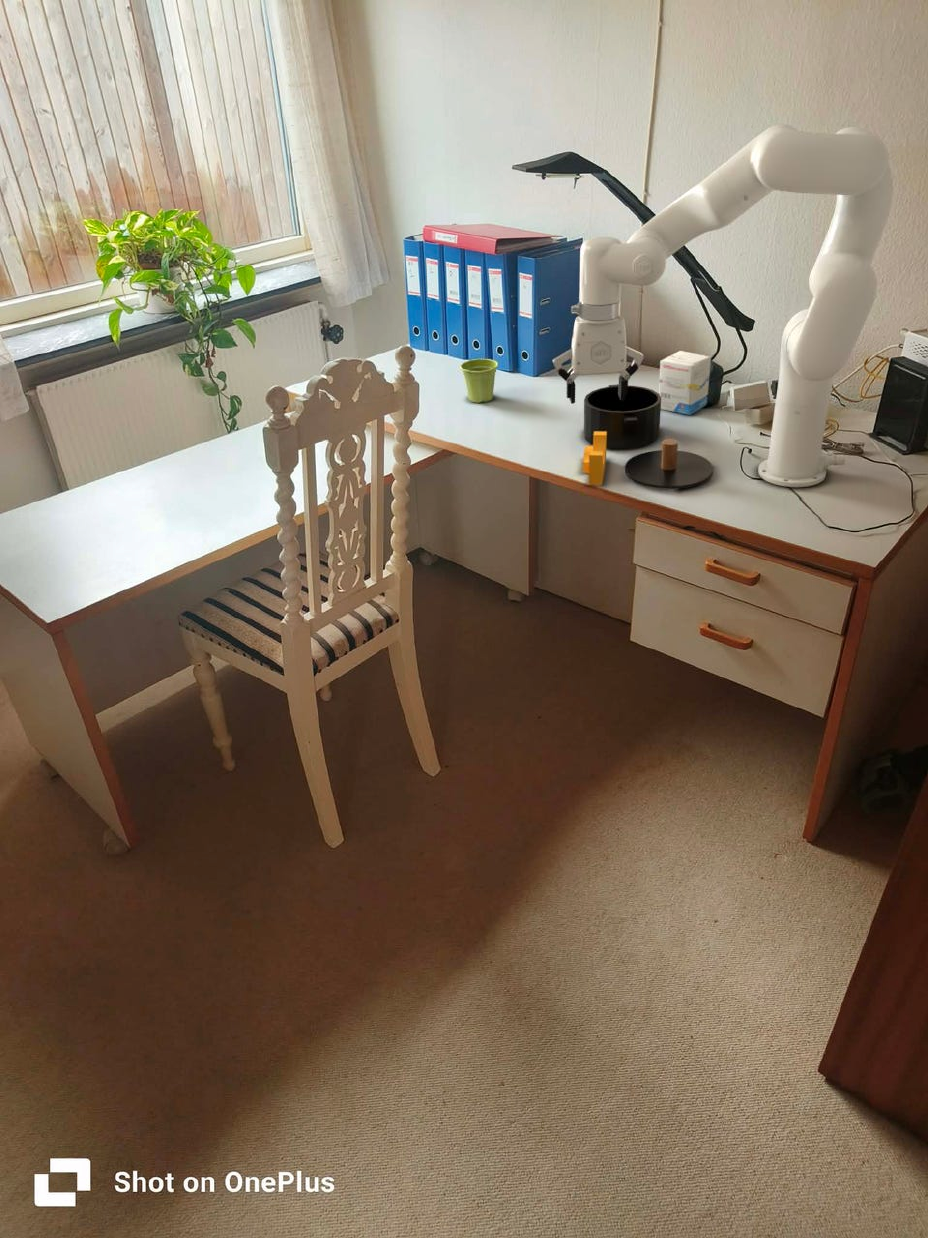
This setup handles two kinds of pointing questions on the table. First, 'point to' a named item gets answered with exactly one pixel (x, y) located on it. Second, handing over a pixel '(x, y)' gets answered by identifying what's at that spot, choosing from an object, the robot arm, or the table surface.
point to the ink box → (684, 382)
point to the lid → (669, 468)
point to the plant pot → (479, 378)
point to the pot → (623, 417)
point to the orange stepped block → (595, 458)
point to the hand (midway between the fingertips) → (596, 399)
